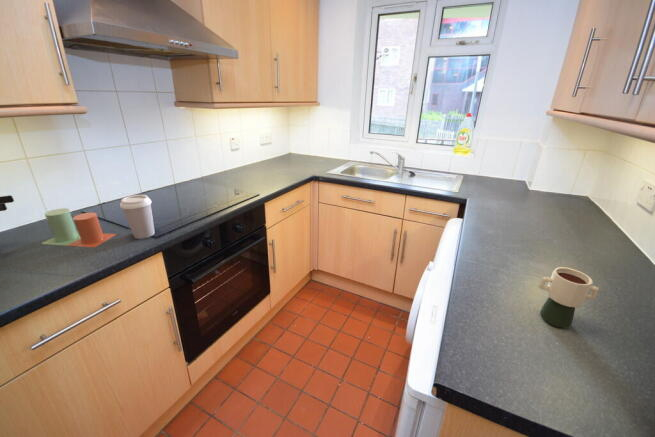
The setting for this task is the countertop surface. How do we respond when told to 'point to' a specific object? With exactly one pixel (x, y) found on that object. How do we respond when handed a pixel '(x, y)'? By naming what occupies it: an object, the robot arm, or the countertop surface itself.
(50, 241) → the board
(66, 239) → the mint green cylinder
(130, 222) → the coffee cup
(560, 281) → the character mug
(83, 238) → the orange cylinder on base
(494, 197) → the countertop surface
